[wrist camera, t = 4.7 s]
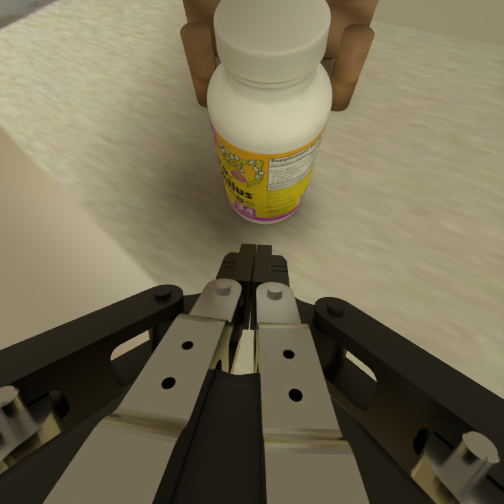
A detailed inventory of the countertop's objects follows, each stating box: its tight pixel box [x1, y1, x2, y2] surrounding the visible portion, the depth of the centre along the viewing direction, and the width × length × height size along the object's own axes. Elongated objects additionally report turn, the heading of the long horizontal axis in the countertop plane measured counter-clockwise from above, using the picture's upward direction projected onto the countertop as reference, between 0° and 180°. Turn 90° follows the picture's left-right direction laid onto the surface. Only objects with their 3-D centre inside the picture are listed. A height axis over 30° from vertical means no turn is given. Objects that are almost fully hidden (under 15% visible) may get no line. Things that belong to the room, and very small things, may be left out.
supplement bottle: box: [207, 0, 332, 224], centre depth 16 cm, size 7×7×13 cm
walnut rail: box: [183, 0, 378, 58], centre depth 24 cm, size 18×2×8 cm, turn 85°
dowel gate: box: [180, 21, 374, 111], centre depth 23 cm, size 15×2×6 cm, turn 85°
